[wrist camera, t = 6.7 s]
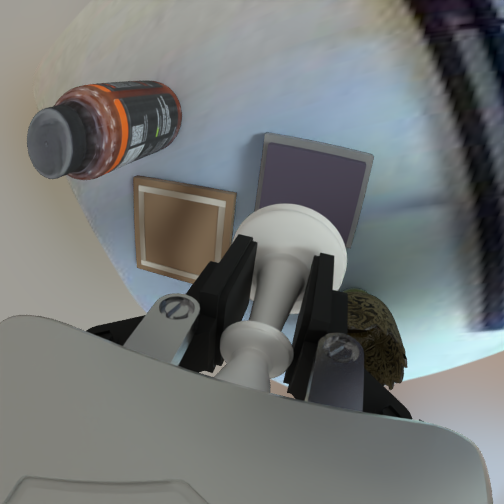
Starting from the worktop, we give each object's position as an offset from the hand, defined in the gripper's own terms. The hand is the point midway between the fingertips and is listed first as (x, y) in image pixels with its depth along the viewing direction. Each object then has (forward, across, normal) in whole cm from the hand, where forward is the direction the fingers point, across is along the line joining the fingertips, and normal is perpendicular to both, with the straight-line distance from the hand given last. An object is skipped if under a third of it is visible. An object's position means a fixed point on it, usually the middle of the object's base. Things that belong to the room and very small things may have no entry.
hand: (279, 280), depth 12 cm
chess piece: (+2, 0, 0) cm, 2 cm away
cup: (+13, -6, +9) cm, 17 cm away
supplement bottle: (+13, +13, -4) cm, 19 cm away
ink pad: (+13, 0, 0) cm, 13 cm away
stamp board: (+13, +10, +6) cm, 17 cm away
